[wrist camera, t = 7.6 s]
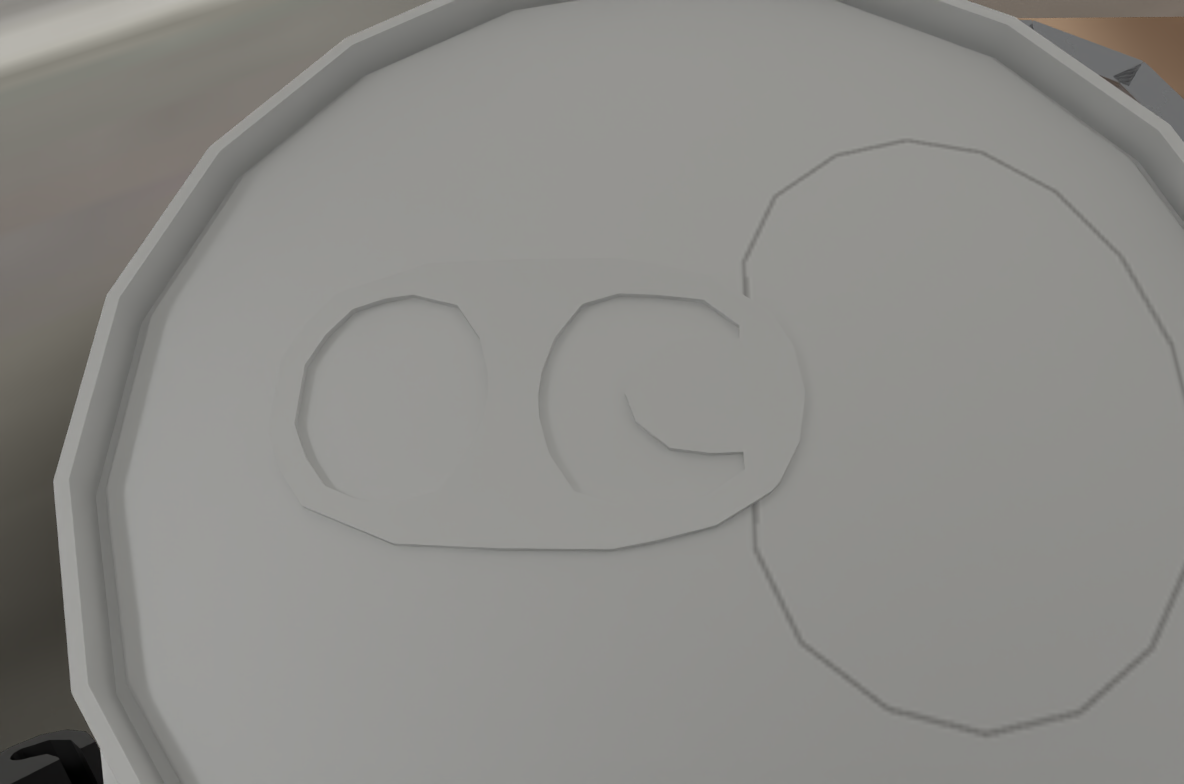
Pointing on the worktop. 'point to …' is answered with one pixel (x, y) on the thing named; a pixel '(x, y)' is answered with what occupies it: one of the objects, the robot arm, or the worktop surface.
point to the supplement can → (647, 414)
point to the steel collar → (1121, 74)
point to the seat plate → (1135, 40)
